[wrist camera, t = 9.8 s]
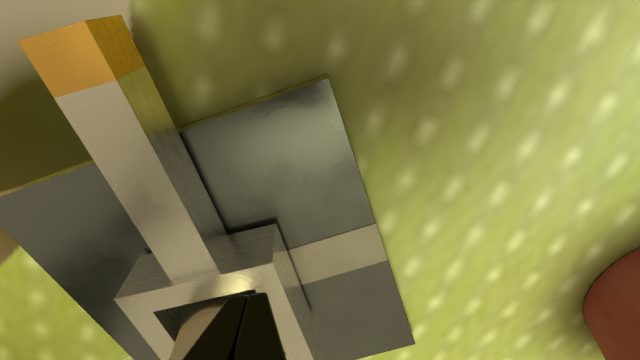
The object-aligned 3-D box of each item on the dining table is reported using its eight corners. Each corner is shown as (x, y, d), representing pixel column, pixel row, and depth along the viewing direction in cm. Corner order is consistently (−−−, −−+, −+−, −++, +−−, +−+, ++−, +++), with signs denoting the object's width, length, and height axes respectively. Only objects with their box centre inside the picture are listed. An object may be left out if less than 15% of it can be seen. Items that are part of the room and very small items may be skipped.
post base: (183, 393, 25) (152, 499, 20) (-8, 195, 17) (-147, 289, 12) (411, 333, 23) (444, 433, 18) (327, 74, 15) (342, 121, 10)
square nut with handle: (313, 319, 21) (315, 363, 18) (198, 344, 21) (185, 390, 19) (187, -5, 12) (158, -3, 10) (1, 50, 13) (-70, 65, 10)
